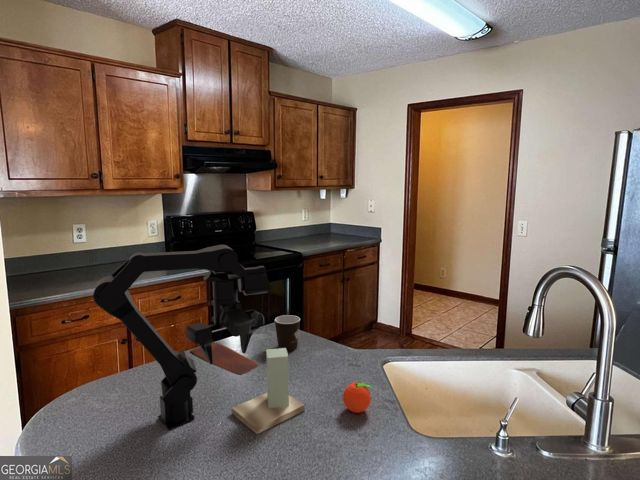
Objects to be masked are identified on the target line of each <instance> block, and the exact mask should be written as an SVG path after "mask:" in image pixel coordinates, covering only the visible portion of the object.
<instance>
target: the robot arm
mask: <svg viewBox="0 0 640 480" xmlns="http://www.w3.org/2000/svg"><path fill="white" fill-rule="evenodd" d="M194 269H199V270H204V271H205V270H206V271H208V272H207V274H205V275H204V276H203V280H204V281H205V282H206V283H212V297H213V299H212V300H211V301H210V305H211V306H213V316H211V322H213V323H212V324H208V325H207V324H205V323H203V322H202V321H200V322H198V323H197V322H196V323H193V324H189V325H188V326H187V327H186V329H185V331H184V333H185V338H186V339H188V340H189V341H191V342H192V343H194V344H198V345H199V347H201V349H202V350H203V352H204V354H205V356H206V358H207V360H208V361H207V362H208V364H209V365H213V364H212V363H213V357H212V343H213V342H214V340H213V339H212V337H213V333H217V332H221V331H224V330H227V331H228V332H229V333H230V335H231V336H232V337H234V338H235V337H239V340H240V342H239V343H240V349H241V354H246V353H247V350H248V347H249V344H250V341H251V338H252V335H253V334H254V332H256V331H257V330H258V329H260V328H261V326H263V325H265V317H264V315H263V313H261V312H258V311H256V309H254V308H253V309H249V310H248V309H247V310H243V308H242V303H241V301H239V300H238V291H239V292H240V293H241V292H242V293H243V295H244V296H249V295H259V294H268V292H269V290H270V281H269V278H268V277H269V276H268V274H267V269H266V267H265V266H264V265H258V266H253V267H244V266H243V265H242V264H241V263H240V262H239V256H238V254H237V252H236V251H235V250H234V249H233V248H232V247H229V246H228V245H226V244H217V245H213V246H207V247H205V248H201V249H198V250H190V251H189V250H188V251H187V250H183V251H167V252H166V251H165V252H164V251H163V252H147V253H146V252H141V251H140V252H138V251H137V252H134V253H133V254H132V255H130V257H129V258H128V260H126V261H125V262H124V263H123V264H122V265H121V266H119V267H118V268H116V270H115V271H114V272H113V273H112V274H111V275H106V276H104V277H102V278H101V279H100V280H98V281H97V284H96V285H95V288H94V290H93V296H92V298H93V301H94V303H95V305H97V306H98V307H99V308H101V309H102V310H103V311H104V312H106V313H107V314H108V315H109V316H112V317H114V318H115V319H117V320H119V321H120V322H122V323H123V324H124V326H125V327H126V328H127V329H128V330H129V331H130V333H131V334H133V336H134V337H135V339H136V340H138V342H139V343H140V344H141V345H142V346H143V347H144V349H146V351H147V352H148V353H149V354H150V356H152V357H153V359H154V360H155V361H156V362H157V363H158V365H160V368H161V370H162V371H163V373H164V377H163V378H162V379H161V381H160V387H161V395H160V396H159V409H160V410H159V411H160V415H158V419H159V421H160V422H161V423H162V424H163V425H164V427H165V428H166V429H167V430H172V429H174V428H177V427H179V426H181V425H182V426H183V425H184V424H186V423H188V422H191V421H193V420H195V419H196V418H195V415H194V414H193V413H194V400H193V397H192V396H191V391H193V389H194V388H195V387H196V385H197V383H198V377H197V374H196V373H197V368H196V364H195V362H194V359H192V358H191V357H189V356H188V354H187V352H186V351H185V349H182V350H181V351H180V352H178V351H176V350H174V349H173V348H172V347H171V345H170V344H169V343H168V342H167V341H166V340H165V339H164V337H163V336H162V335H161V334H160V333H159V332H158V331H157V330H156V328H155V327H154V326H153V325H152V324H151V323H150V321H149V320H148V319H147V318H146V317H145V315H144V314H143V313H142V312H141V310H139V308H138V307H137V305H136V304H135V302H134V300H133V297H132V295H131V293H130V291H129V289H130V288H131V287H132V286H133V284H134V283H135V282H136V281H137V280H138V278H139V277H140V276H141V275H143V273H145V272H160V271H161V272H164V271H179V270H194ZM229 272H230V273H232V274H228V273H229Z"/></svg>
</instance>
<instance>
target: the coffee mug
mask: <svg viewBox="0 0 640 480" xmlns="http://www.w3.org/2000/svg"><path fill="white" fill-rule="evenodd" d="M274 323H275V325H274V326H275V332H276V341H277V347H278V348H277V349H279V348H286V350H287V352H293V351H295V350H297V348H298V343H299V336H300V335H299V334H300V325H301V324H300V323H301V318H300V317H299V316H297V315H292V314H291V315H289V314H286V315H285V314H283V315H279V316H277V317H275V319H274Z"/></svg>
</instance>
